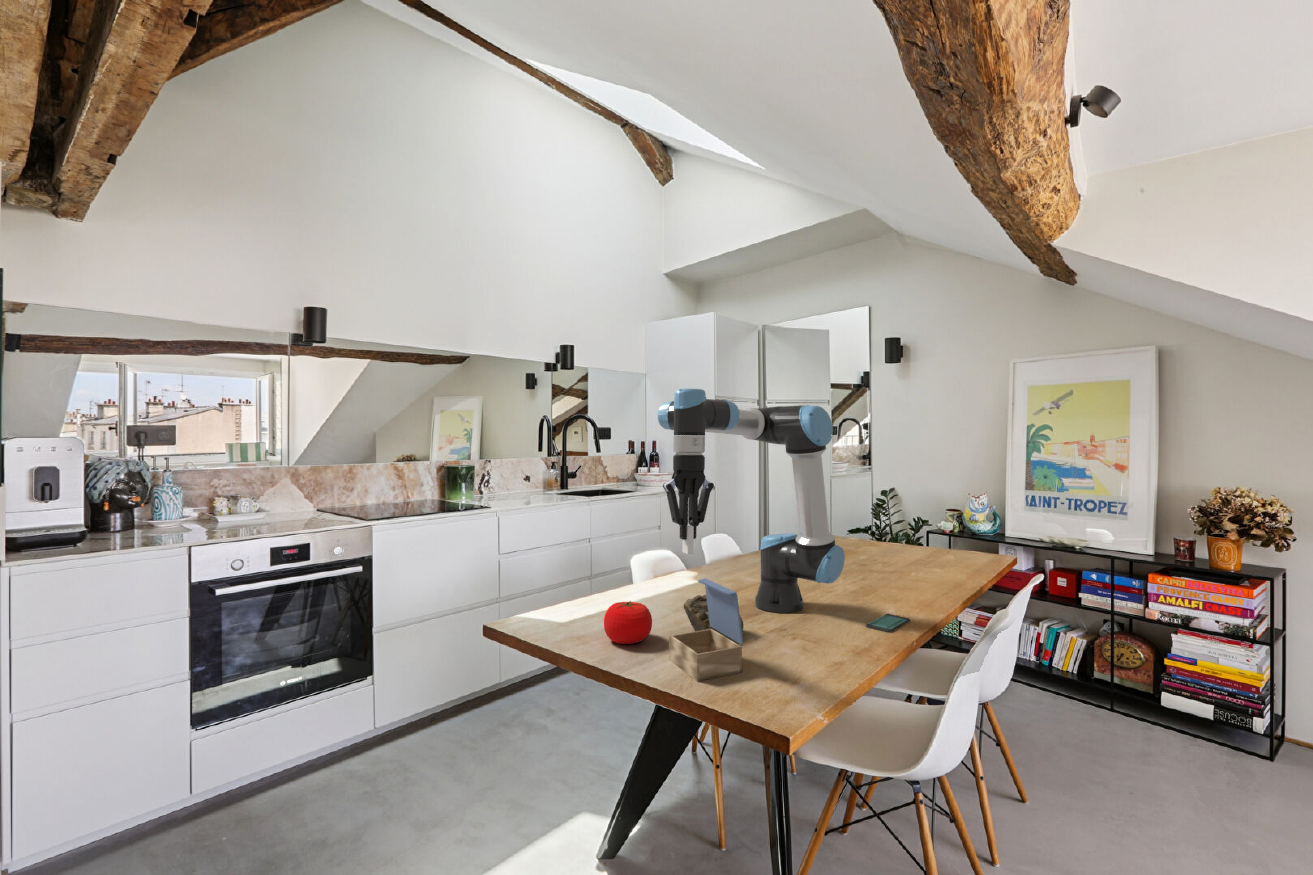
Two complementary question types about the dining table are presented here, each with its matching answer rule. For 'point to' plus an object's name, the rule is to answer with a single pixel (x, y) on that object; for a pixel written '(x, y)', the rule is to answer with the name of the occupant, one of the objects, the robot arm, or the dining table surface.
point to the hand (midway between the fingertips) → (687, 552)
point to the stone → (700, 614)
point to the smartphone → (888, 623)
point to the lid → (723, 610)
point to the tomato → (627, 622)
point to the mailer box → (705, 654)
